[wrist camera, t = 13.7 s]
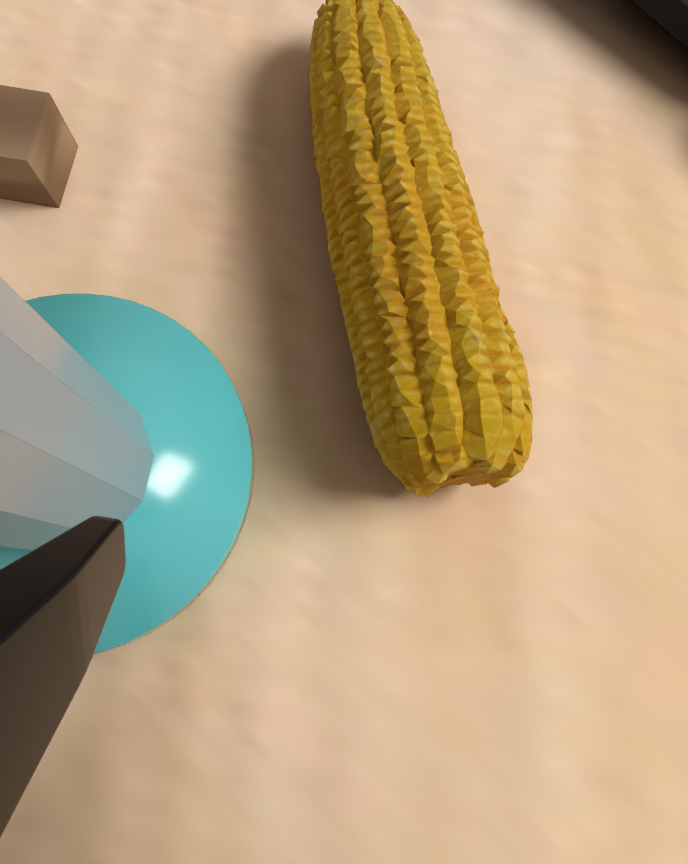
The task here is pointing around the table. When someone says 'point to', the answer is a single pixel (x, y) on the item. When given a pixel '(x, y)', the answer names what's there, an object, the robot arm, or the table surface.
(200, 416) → the dish
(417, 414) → the food
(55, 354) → the cup
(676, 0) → the toy
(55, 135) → the block
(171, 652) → the table surface
